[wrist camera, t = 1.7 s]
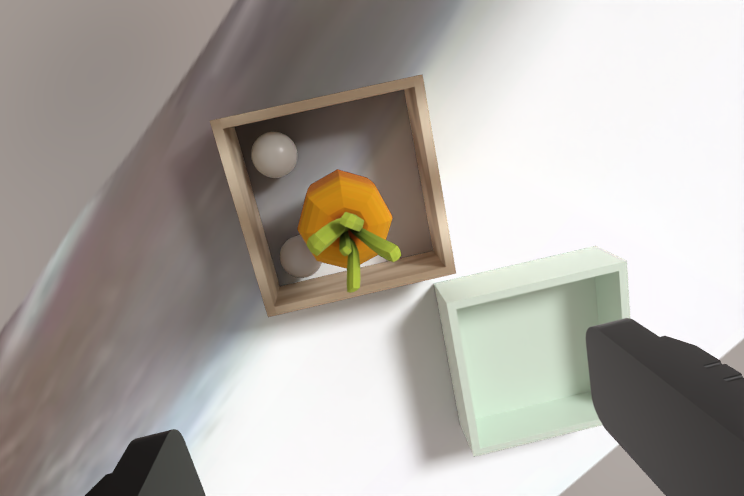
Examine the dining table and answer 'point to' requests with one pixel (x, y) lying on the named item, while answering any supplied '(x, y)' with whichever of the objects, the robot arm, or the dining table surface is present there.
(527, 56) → the dining table surface
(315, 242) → the carrot
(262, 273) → the birch frame
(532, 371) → the green tray
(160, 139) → the dining table surface
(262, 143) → the white ball
